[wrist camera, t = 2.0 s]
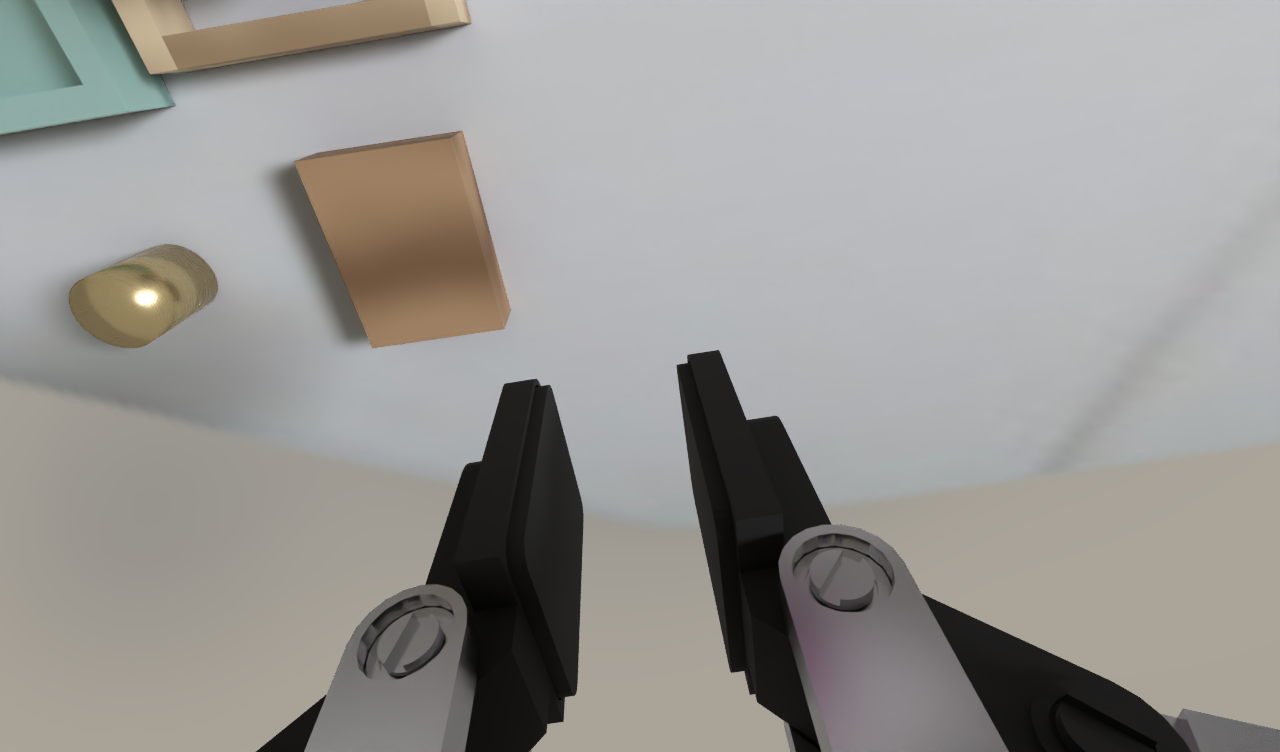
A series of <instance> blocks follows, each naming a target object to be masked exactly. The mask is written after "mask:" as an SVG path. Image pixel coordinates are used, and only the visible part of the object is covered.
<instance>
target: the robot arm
mask: <svg viewBox="0 0 1280 752" xmlns="http://www.w3.org/2000/svg"><path fill="white" fill-rule="evenodd" d="M687 359H688V363H686V364H679V365H677V374H678V381H679V389H680V397H681V404H682V412H683V420H684V427H685V435H686V443H687V451H688V458H689V466H690V474H691V481H692V488H693V494H694V500H695V505H696V509H697V514H698V519H699V524H700V529H701V533H702V538H703V543H704V548H705V552H706V557H707V562H708V567H709V572H710V576H711V582H712V586H713V591H714V596H715V601H716V605H717V610H718V615H719V620H720V625H721V630H722V634H723V639H724V644H725V649H726V653H727V658H728V663H729V668H730V671H731V673H732V672H740V671H745V676H746V680H747V684H748V688H749V693H750V695H751V694H756V699H757V702H758V703H759V704H761V705H762V706H764V707H765V708H767V709H768V710H769V711H771V712H772V713H774V714H775V715H777V716H778V717H779V718H781V719H782V720H784V727H785V732H786V736H787V739H788V744H789V748H790V752H1280V730H1278V729H1273V728H1268V727H1264V726H1259V725H1255V724H1250V723H1246V722H1241V721H1237V720H1232V719H1228V718H1223V717H1219V716H1214V715H1210V714H1205V713H1201V712H1196V711H1191V710H1187V709H1183V710H1182V711H1181V713H1180V714H1179V716H1178V718H1175V717H1172V716H1167V715H1162V714H1159V713H1158V712H1157V711H1156V710H1154V709H1153V708H1152V707H1151V706H1150V705H1148V704H1147V703H1146V702H1145V701H1144V700H1142V699H1141V698H1140V697H1138V696H1136V695H1135V694H1133V693H1131V692H1129V691H1127V690H1126V689H1124V688H1122V687H1121V686H1119V685H1117V684H1115V683H1114V682H1112V681H1110V680H1108V679H1105V678H1103V677H1101V676H1099V675H1097V674H1095V673H1092V672H1090V671H1088V670H1086V669H1084V668H1082V667H1079V666H1077V665H1075V664H1073V663H1071V662H1069V661H1066V660H1064V659H1062V658H1060V657H1058V656H1055V655H1053V654H1051V653H1049V652H1047V651H1045V650H1042V649H1040V648H1038V647H1036V646H1034V645H1032V644H1029V643H1027V642H1025V641H1023V640H1021V639H1019V638H1016V637H1014V636H1012V635H1010V634H1008V633H1006V632H1003V631H1001V630H999V629H997V628H994V627H993V626H990V625H988V624H986V623H984V622H982V621H979V620H977V619H975V618H973V617H971V616H969V615H966V614H964V613H962V612H960V611H958V610H956V609H953V608H951V607H949V606H947V605H945V604H943V603H940V602H938V601H936V600H934V599H932V598H930V597H928V596H925V595H923V594H921V592H920V590H919V588H918V586H917V584H916V583H915V581H914V579H913V577H912V575H911V574H910V572H909V570H908V568H907V566H906V565H905V563H904V561H903V560H902V559H901V557H900V556H899V555H898V554H897V552H896V551H895V550H894V548H892V547H891V546H890V545H889V544H887V543H886V542H885V541H883V540H882V539H881V538H879V537H878V536H876V535H874V534H871V533H869V532H867V531H865V530H862V529H860V528H855V527H850V526H846V525H831V523H830V521H829V518H828V516H827V514H826V512H825V510H824V508H823V506H822V504H821V502H820V500H819V498H818V496H817V494H816V492H815V490H814V488H813V485H812V483H811V481H810V479H809V477H808V475H807V473H806V471H805V469H804V467H803V465H802V463H801V461H800V459H799V457H798V455H797V452H796V450H795V448H794V446H793V444H792V442H791V440H790V438H789V436H788V434H787V432H786V430H785V428H784V426H783V424H782V422H781V420H780V419H779V417H777V416H771V417H765V418H758V419H752V420H746V417H745V415H744V412H743V410H742V407H741V405H740V402H739V400H738V397H737V395H736V392H735V389H734V387H733V384H732V382H731V379H730V377H729V374H728V372H727V369H726V367H725V364H724V361H723V359H722V356H721V354H720V352H719V350H716V351H710V352H703V353H697V354H690V355H688V356H687ZM582 544H583V507H582V501H581V496H580V493H579V489H578V485H577V481H576V478H575V474H574V470H573V466H572V462H571V459H570V455H569V451H568V447H567V444H566V440H565V436H564V432H563V429H562V425H561V421H560V417H559V413H558V410H557V406H556V402H555V398H554V395H553V391H552V388H551V386H550V385H546V386H540V383H539V381H538V380H537V379H532V380H525V381H519V382H513V383H506V384H504V386H503V389H502V393H501V396H500V399H499V403H498V406H497V410H496V413H495V417H494V420H493V424H492V427H491V431H490V434H489V438H488V441H487V445H486V448H485V452H484V455H483V458H482V461H480V462H474V463H469V464H467V465H466V466H465V467H464V470H463V472H462V474H461V477H460V480H459V484H458V487H457V490H456V493H455V496H454V499H453V502H452V505H451V508H450V511H449V515H448V517H447V520H446V523H445V527H444V530H443V533H442V536H441V539H440V542H439V545H438V548H437V551H436V554H435V557H434V560H433V563H432V566H431V569H430V572H429V575H428V578H427V581H426V584H425V585H420V586H417V587H413V588H410V589H406V590H403V591H401V592H399V593H398V594H396V595H394V596H392V597H390V598H388V599H386V600H385V601H384V602H382V603H381V604H380V605H378V606H377V607H376V608H375V609H373V610H372V611H371V612H370V613H369V614H368V615H367V616H366V617H365V618H364V619H363V621H362V622H361V623H360V624H359V625H358V626H357V627H356V629H355V631H354V633H353V634H352V636H351V638H350V640H349V642H348V643H347V645H346V648H345V650H344V653H343V655H342V658H341V660H340V663H339V665H338V668H337V670H336V673H335V675H334V678H333V680H332V683H331V686H330V688H329V690H328V693H327V695H325V696H324V697H323V698H322V699H320V700H319V701H318V702H317V703H316V704H314V705H313V706H312V707H311V708H309V709H308V710H307V711H306V712H304V713H303V714H302V715H301V716H300V717H298V718H297V719H296V720H295V721H293V722H292V723H291V724H290V725H288V726H287V727H286V728H285V729H284V730H282V731H281V732H280V733H279V734H277V735H276V736H275V737H274V738H273V739H271V740H270V741H269V742H267V743H266V744H265V745H264V746H262V747H261V748H260V749H259V750H258V751H256V752H531V749H532V748H533V747H534V746H535V745H536V744H537V742H538V741H539V740H540V739H541V738H542V737H543V736H544V735H545V734H546V731H547V724H550V723H557V722H563V719H564V702H565V697H568V696H575V694H576V691H577V680H578V653H579V626H580V599H581V596H580V595H581V571H582Z"/></svg>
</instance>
